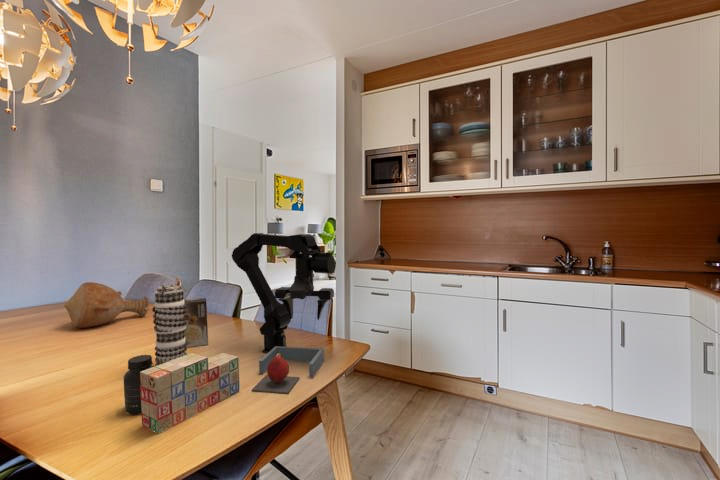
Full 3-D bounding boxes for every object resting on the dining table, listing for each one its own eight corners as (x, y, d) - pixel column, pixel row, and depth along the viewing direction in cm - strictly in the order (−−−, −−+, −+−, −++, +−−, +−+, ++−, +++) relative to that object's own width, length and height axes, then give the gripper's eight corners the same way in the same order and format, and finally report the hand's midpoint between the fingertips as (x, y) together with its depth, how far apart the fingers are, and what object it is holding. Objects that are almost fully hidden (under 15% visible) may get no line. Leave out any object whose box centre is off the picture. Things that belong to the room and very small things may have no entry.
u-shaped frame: (259, 374, 101) (259, 360, 100) (275, 358, 112) (275, 346, 112) (312, 377, 98) (312, 363, 98) (323, 361, 110) (323, 348, 110)
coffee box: (208, 339, 131) (207, 297, 130) (208, 345, 125) (207, 300, 124) (180, 343, 127) (179, 299, 126) (179, 348, 121) (178, 303, 121)
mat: (251, 391, 90) (251, 389, 90) (266, 376, 99) (266, 374, 99) (288, 394, 89) (288, 392, 89) (299, 378, 98) (299, 377, 98)
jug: (56, 297, 150) (134, 294, 174) (59, 338, 142) (140, 329, 166) (70, 273, 141) (150, 273, 165) (74, 315, 133) (157, 309, 157)
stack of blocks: (223, 386, 94) (222, 341, 93) (240, 391, 90) (239, 345, 90) (141, 426, 75) (139, 370, 74) (157, 435, 72) (156, 377, 71)
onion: (283, 389, 91) (283, 359, 90) (263, 387, 92) (263, 357, 91) (292, 379, 96) (292, 350, 96) (273, 377, 97) (272, 349, 97)
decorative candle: (154, 376, 99) (151, 289, 98) (153, 365, 107) (151, 285, 106) (189, 369, 104) (187, 286, 103) (186, 359, 112) (184, 282, 111)
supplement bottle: (135, 401, 85) (133, 353, 85) (164, 399, 86) (162, 352, 86) (118, 416, 79) (116, 364, 78) (149, 415, 79) (148, 363, 79)
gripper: (267, 275, 108) (268, 324, 108) (325, 276, 105) (326, 327, 106) (280, 270, 119) (281, 315, 120) (334, 271, 116) (334, 317, 117)
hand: (304, 319), depth 115 cm, fingers open, 9 cm apart
